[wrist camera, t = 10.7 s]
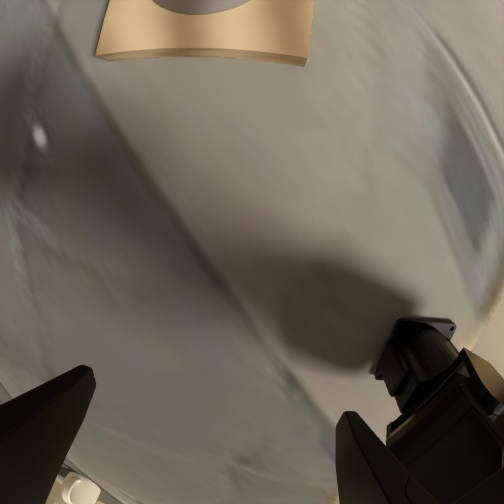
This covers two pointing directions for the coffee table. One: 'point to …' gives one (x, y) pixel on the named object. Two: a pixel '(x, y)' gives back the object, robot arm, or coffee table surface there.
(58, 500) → the mug
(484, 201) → the coffee table surface
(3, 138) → the coffee table surface
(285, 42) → the base slab
